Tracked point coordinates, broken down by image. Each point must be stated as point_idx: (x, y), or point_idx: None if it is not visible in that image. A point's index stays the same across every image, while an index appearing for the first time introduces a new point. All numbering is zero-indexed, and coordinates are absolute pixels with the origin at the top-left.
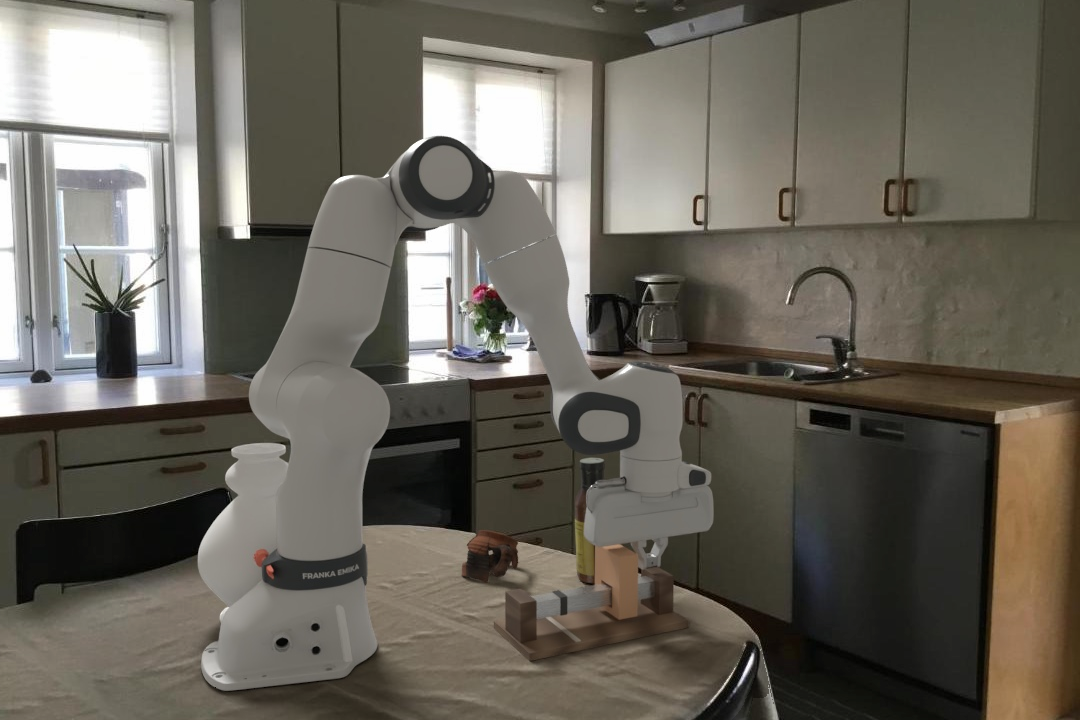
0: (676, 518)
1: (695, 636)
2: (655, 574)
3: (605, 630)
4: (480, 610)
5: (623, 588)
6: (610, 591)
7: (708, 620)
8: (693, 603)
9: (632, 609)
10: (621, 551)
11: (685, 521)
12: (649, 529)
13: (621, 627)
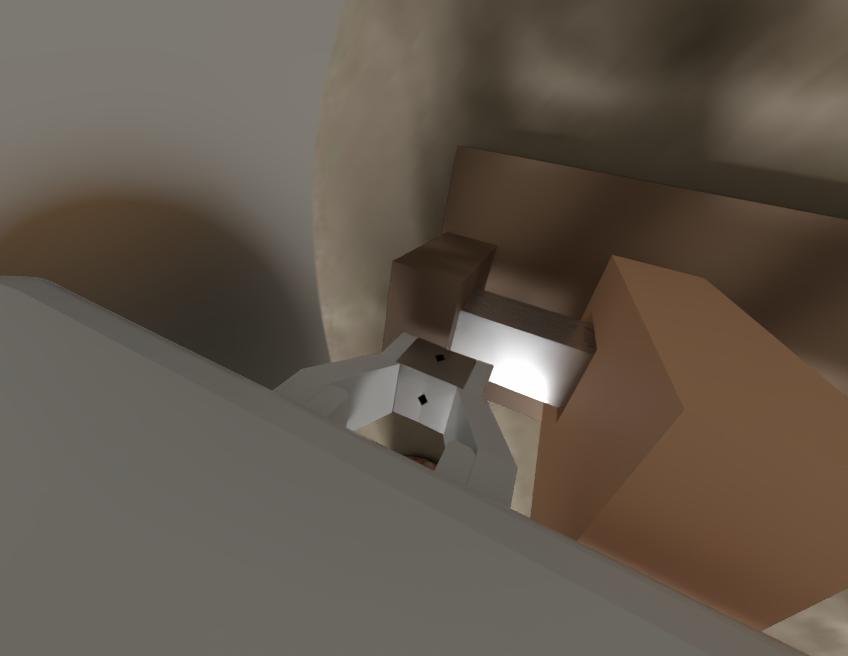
0: (22, 459)
1: (503, 63)
2: (441, 324)
3: (776, 280)
4: (802, 617)
5: (740, 324)
6: None
7: (381, 152)
8: (345, 265)
9: (641, 269)
10: (715, 541)
11: (21, 381)
12: (387, 567)
13: (696, 258)
